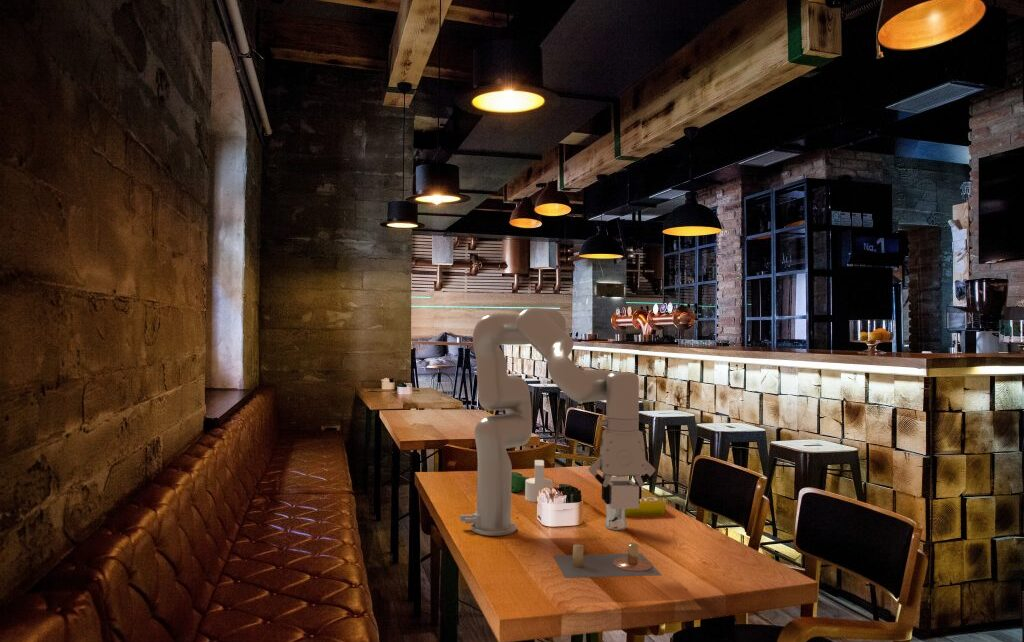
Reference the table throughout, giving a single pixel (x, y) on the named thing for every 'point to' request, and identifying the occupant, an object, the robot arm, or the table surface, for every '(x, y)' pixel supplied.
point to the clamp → (517, 482)
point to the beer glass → (616, 513)
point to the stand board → (596, 565)
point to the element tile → (647, 506)
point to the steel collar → (623, 494)
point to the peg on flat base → (632, 560)
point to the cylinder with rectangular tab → (536, 482)
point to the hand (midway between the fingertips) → (621, 501)
